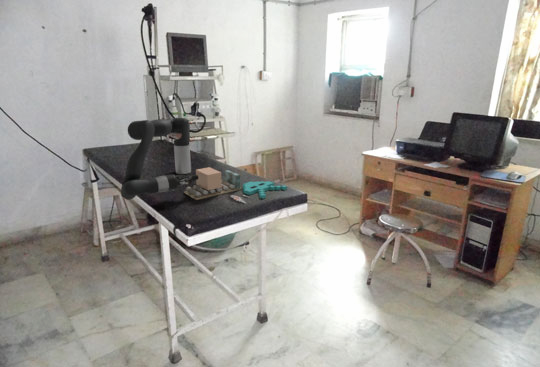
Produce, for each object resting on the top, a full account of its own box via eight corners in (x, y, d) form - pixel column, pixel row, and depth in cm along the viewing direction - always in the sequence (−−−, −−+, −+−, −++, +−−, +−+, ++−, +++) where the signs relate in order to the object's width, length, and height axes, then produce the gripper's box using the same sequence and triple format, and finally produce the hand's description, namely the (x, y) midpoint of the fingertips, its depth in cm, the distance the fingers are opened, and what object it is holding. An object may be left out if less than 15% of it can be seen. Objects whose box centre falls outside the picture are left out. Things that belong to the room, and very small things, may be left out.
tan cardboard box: (196, 184, 194) (195, 169, 192) (209, 181, 199) (209, 167, 196) (208, 190, 185) (207, 175, 183) (221, 187, 190) (221, 172, 187)
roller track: (184, 193, 191) (183, 178, 189) (228, 183, 207) (228, 169, 205) (196, 200, 182) (195, 184, 179) (241, 189, 198) (241, 175, 195)
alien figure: (286, 190, 199) (258, 182, 211) (286, 186, 199) (258, 178, 211) (262, 199, 185) (234, 191, 197) (262, 195, 184) (234, 187, 196)
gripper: (170, 179, 170) (203, 172, 180) (158, 172, 180) (190, 167, 190) (171, 194, 172) (204, 187, 183) (159, 187, 182) (191, 180, 192)
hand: (197, 176), depth 186 cm, fingers closed
